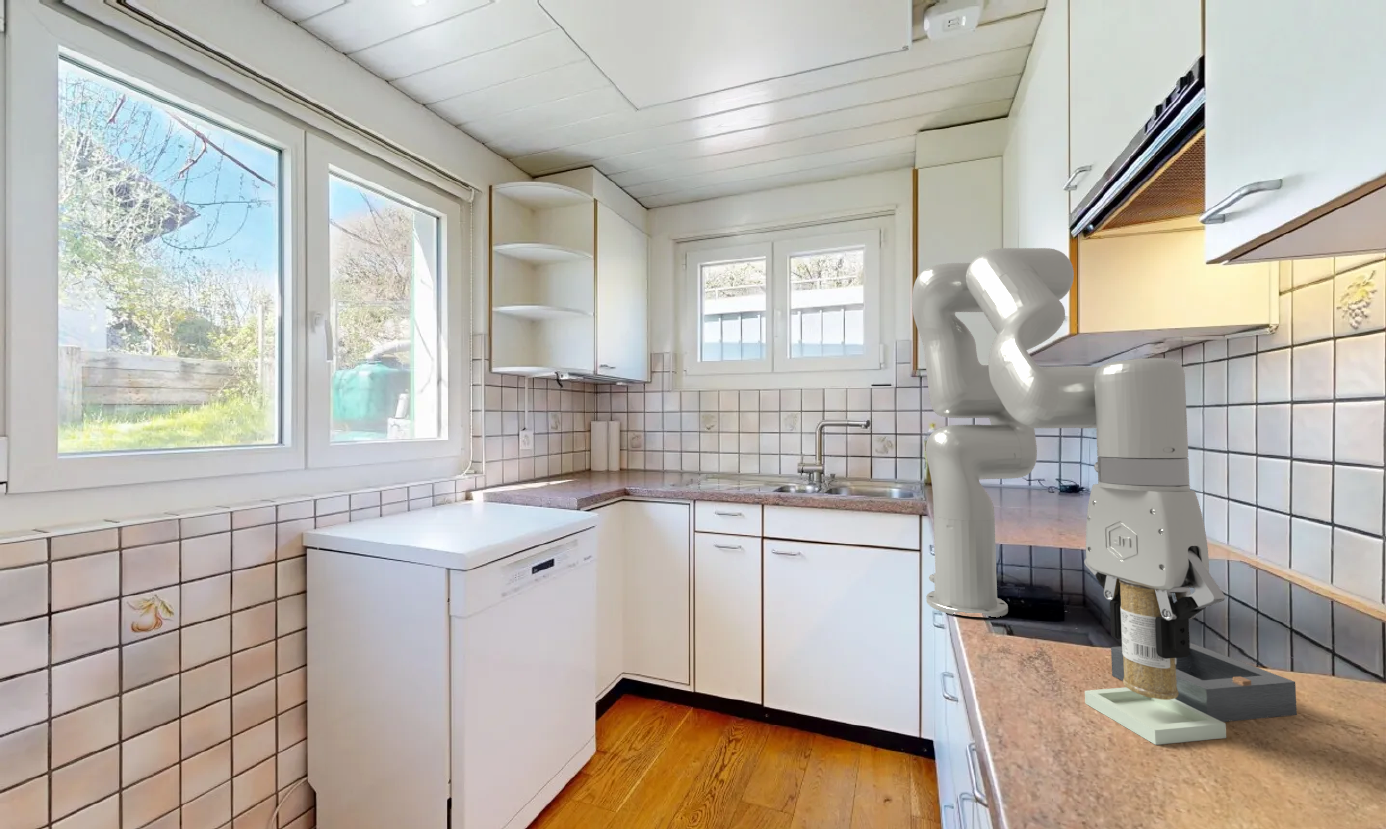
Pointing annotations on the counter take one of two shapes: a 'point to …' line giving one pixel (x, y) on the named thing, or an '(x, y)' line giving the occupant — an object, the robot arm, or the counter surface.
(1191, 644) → the block
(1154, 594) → the spice jar
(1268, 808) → the counter surface
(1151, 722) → the tray
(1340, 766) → the counter surface
